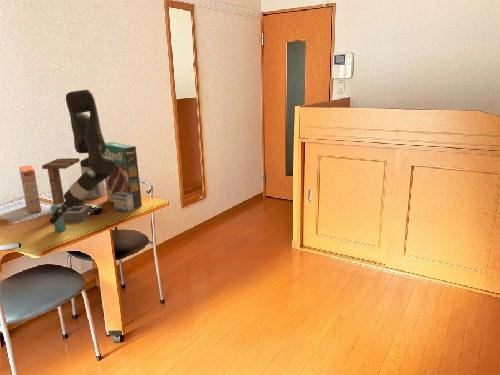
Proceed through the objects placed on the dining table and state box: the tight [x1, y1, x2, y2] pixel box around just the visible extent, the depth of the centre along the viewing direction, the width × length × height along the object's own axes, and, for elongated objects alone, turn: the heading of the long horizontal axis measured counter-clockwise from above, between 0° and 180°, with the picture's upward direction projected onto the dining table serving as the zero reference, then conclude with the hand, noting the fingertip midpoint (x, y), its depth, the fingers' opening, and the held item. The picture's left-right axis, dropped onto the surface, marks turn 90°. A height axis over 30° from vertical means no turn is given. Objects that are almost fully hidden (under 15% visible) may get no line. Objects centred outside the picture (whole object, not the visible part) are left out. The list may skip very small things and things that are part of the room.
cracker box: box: [19, 165, 42, 214], centre depth 192 cm, size 14×6×21 cm, turn 33°
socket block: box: [63, 205, 93, 223], centre depth 181 cm, size 10×10×4 cm
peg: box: [50, 204, 67, 233], centre depth 165 cm, size 4×4×11 cm
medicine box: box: [113, 192, 135, 213], centre depth 189 cm, size 8×4×9 cm, turn 70°
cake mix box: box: [102, 141, 143, 209], centre depth 197 cm, size 22×6×30 cm, turn 49°
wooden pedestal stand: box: [41, 157, 80, 205], centre depth 178 cm, size 14×10×26 cm
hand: (54, 220), depth 165 cm, fingers closed on peg, 4 cm apart
